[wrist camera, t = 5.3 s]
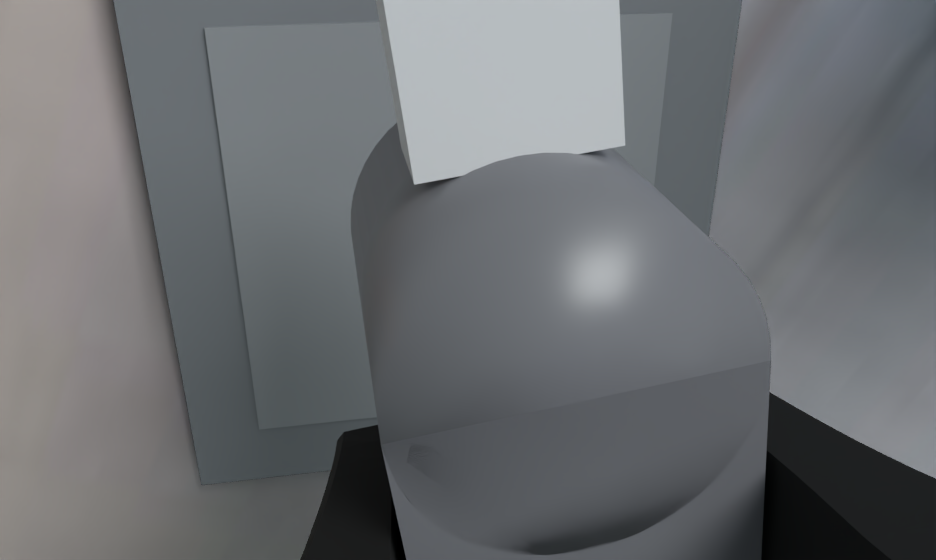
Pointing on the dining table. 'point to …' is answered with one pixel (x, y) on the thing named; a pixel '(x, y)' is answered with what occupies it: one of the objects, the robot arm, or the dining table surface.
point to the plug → (547, 306)
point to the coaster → (333, 194)
